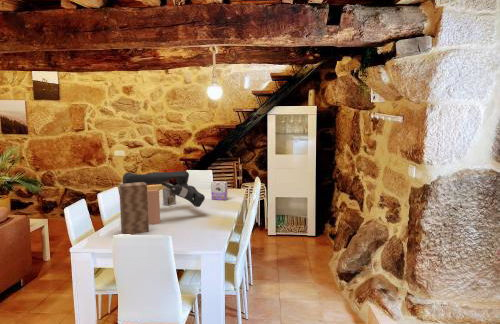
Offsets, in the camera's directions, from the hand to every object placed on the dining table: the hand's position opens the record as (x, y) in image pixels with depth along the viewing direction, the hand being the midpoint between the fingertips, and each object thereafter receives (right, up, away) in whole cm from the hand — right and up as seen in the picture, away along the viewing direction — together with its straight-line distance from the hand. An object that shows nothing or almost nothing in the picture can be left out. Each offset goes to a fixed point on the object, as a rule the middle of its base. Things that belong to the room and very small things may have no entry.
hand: (159, 181), depth 275 cm
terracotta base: (-6, -29, +1) cm, 30 cm away
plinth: (-12, -32, -19) cm, 39 cm away
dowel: (-5, -5, -2) cm, 7 cm away
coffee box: (-5, -23, +55) cm, 59 cm away
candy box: (+37, -20, +72) cm, 84 cm away
